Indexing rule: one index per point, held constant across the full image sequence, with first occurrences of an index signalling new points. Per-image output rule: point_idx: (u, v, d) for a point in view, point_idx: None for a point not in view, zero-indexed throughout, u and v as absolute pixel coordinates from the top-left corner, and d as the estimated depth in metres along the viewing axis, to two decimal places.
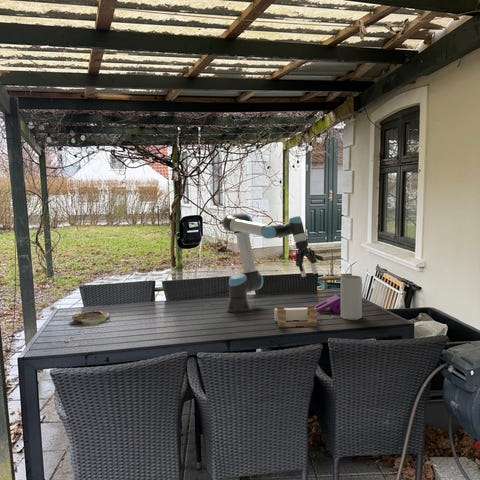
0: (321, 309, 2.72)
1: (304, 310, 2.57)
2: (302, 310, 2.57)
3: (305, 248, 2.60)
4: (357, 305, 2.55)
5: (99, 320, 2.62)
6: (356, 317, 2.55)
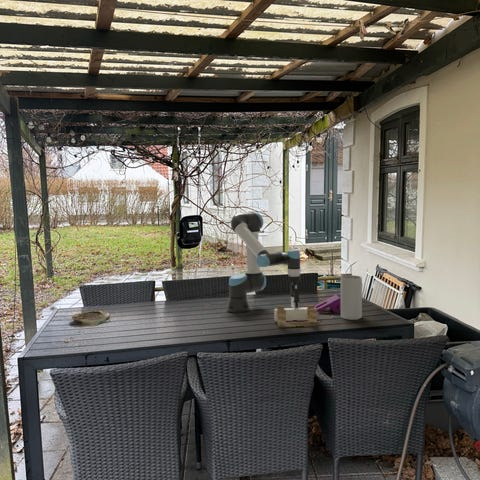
0: (321, 309, 2.72)
1: (304, 310, 2.57)
2: (302, 310, 2.57)
3: None
4: (357, 305, 2.55)
5: (99, 320, 2.62)
6: (356, 317, 2.55)
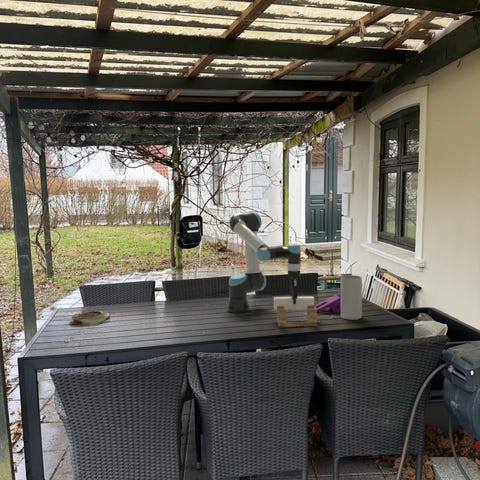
0: (321, 309, 2.72)
1: (303, 299, 2.57)
2: (301, 299, 2.57)
3: None
4: (357, 305, 2.55)
5: (99, 320, 2.62)
6: (356, 317, 2.55)
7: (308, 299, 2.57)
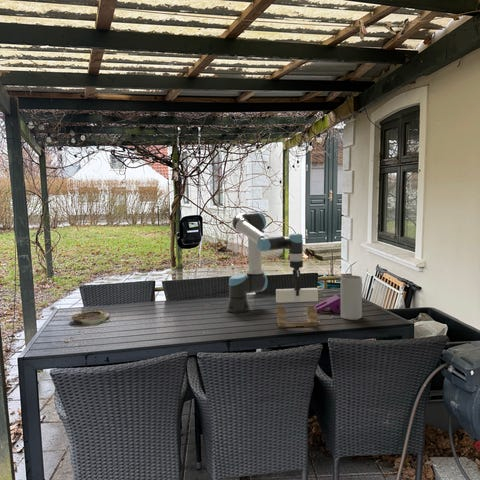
0: (321, 309, 2.72)
1: (307, 290, 2.46)
2: (305, 290, 2.46)
3: None
4: (357, 305, 2.55)
5: (99, 320, 2.62)
6: (356, 317, 2.55)
7: (312, 290, 2.46)
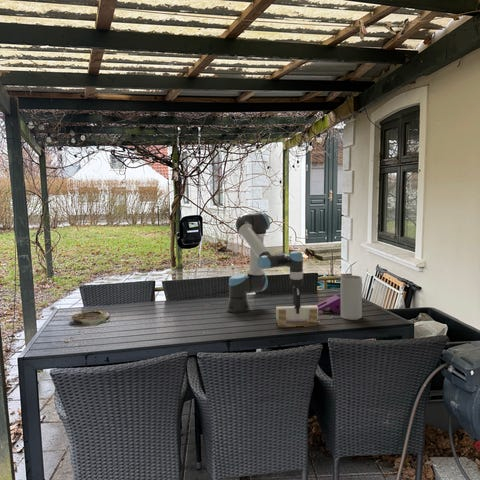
0: (321, 309, 2.72)
1: (307, 308, 2.47)
2: (305, 308, 2.47)
3: None
4: (357, 305, 2.55)
5: (99, 320, 2.62)
6: (356, 317, 2.55)
7: (312, 308, 2.47)
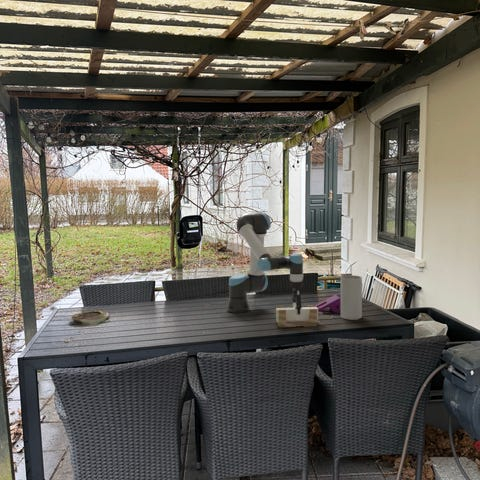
0: (321, 309, 2.72)
1: (307, 310, 2.47)
2: (305, 310, 2.47)
3: None
4: (357, 305, 2.55)
5: (98, 320, 2.62)
6: (356, 317, 2.55)
7: None
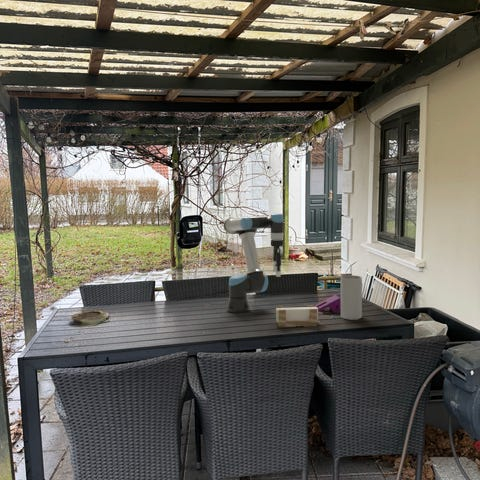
0: (320, 309, 2.72)
1: (307, 310, 2.47)
2: (305, 310, 2.47)
3: None
4: (357, 305, 2.55)
5: (98, 320, 2.62)
6: (356, 317, 2.55)
7: None
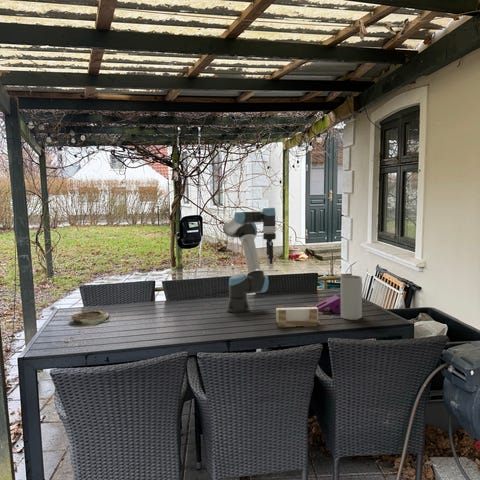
0: (320, 309, 2.72)
1: (307, 310, 2.47)
2: (305, 310, 2.47)
3: None
4: (357, 305, 2.55)
5: (98, 320, 2.62)
6: (356, 317, 2.55)
7: None
